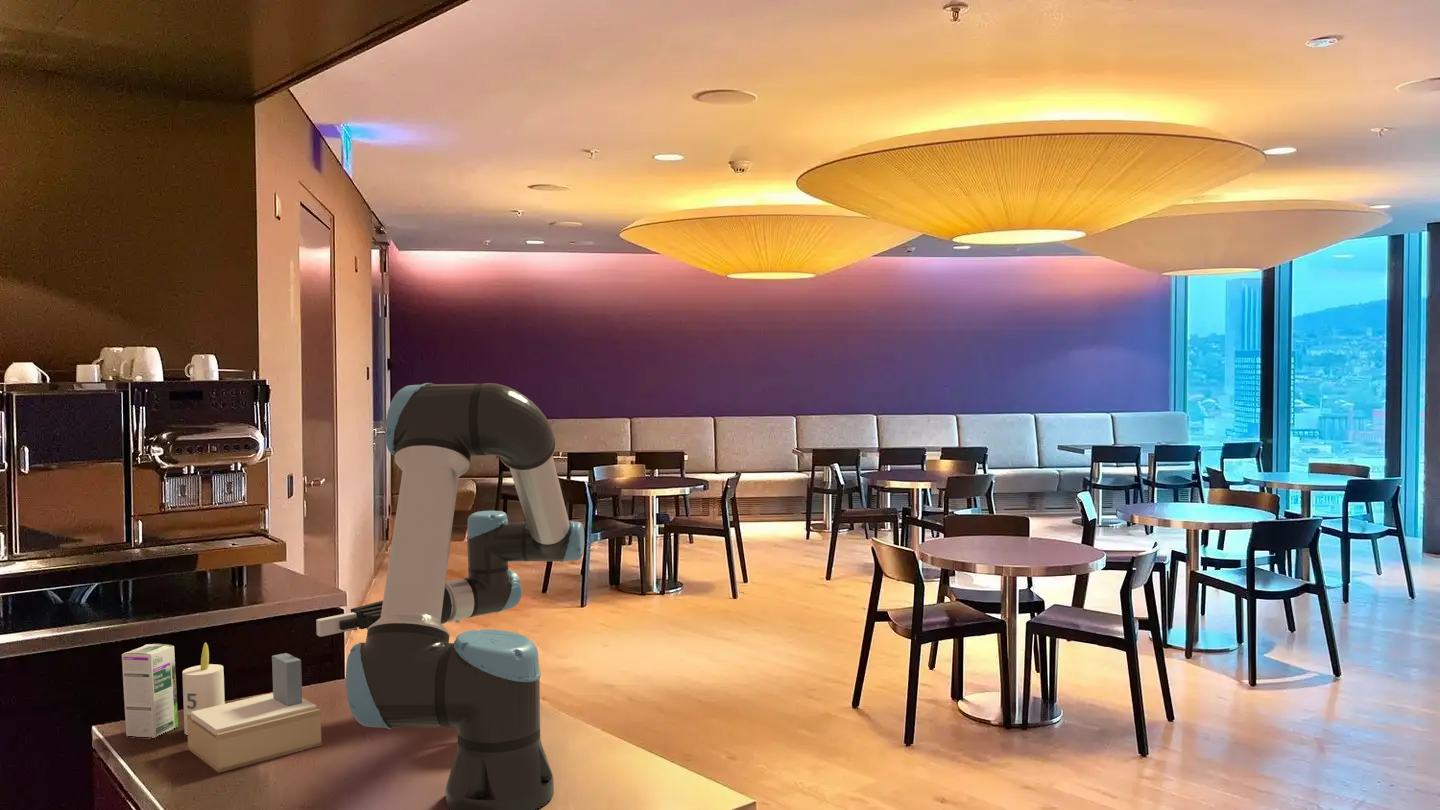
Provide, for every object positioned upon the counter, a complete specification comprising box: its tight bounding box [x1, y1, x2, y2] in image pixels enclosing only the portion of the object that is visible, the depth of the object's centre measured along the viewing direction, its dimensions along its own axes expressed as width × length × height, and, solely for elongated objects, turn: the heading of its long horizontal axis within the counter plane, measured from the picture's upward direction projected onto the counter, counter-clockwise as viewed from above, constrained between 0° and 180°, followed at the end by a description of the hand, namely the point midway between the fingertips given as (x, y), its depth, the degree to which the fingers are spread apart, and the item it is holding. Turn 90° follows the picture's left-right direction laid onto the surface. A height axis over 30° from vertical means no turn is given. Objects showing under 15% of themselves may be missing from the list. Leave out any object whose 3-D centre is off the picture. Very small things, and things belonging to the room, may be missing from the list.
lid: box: [190, 652, 317, 735], centre depth 171 cm, size 16×12×8 cm
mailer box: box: [187, 708, 322, 774], centre depth 172 cm, size 16×14×6 cm
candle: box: [181, 642, 226, 736], centre depth 180 cm, size 6×6×15 cm
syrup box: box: [121, 643, 179, 739], centre depth 179 cm, size 6×6×14 cm
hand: (318, 628), depth 179 cm, fingers closed
